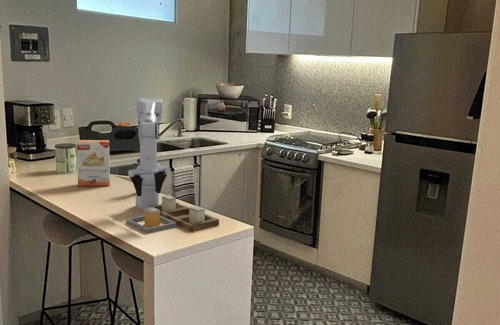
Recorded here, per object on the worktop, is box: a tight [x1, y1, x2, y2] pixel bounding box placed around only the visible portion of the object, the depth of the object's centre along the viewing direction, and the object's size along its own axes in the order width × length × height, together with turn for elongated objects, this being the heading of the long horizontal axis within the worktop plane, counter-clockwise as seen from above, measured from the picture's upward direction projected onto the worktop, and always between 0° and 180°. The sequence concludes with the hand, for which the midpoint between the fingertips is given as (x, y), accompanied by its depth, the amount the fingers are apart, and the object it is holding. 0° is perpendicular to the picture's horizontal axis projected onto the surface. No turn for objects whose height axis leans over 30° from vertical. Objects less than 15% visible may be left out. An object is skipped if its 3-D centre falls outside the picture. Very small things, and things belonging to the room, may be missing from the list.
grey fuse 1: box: [161, 194, 177, 212], centre depth 181 cm, size 5×3×6 cm, turn 42°
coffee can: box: [54, 142, 78, 175], centre depth 247 cm, size 10×10×14 cm
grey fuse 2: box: [188, 205, 206, 224], centre depth 168 cm, size 5×3×6 cm, turn 42°
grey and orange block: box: [144, 207, 161, 228], centre depth 166 cm, size 5×3×6 cm, turn 42°
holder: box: [149, 201, 220, 232], centre depth 175 cm, size 28×12×3 cm, turn 42°
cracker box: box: [76, 139, 111, 188], centre depth 220 cm, size 14×6×21 cm, turn 105°
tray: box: [125, 214, 177, 234], centre depth 167 cm, size 14×12×2 cm
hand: (148, 194), depth 170 cm, fingers open, 7 cm apart
